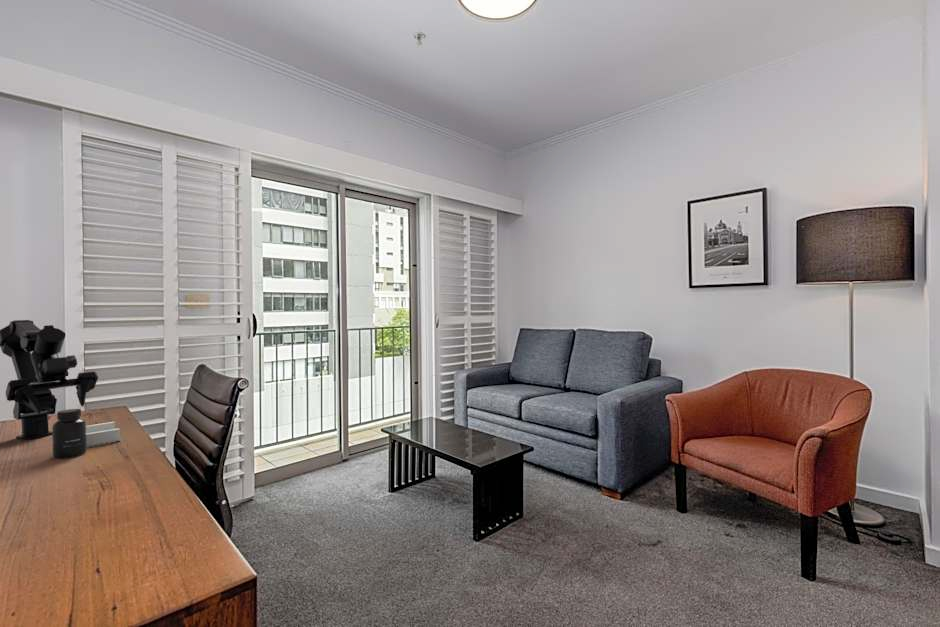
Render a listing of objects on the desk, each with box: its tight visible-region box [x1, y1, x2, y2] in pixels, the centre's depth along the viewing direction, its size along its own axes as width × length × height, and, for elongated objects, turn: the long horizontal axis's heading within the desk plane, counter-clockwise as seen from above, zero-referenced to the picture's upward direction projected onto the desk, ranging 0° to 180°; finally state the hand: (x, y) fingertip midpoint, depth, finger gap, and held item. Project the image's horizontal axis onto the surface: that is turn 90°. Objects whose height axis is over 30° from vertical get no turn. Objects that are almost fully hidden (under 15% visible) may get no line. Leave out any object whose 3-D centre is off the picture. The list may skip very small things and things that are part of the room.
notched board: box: [86, 421, 121, 448], centre depth 135 cm, size 10×12×4 cm
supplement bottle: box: [51, 408, 87, 460], centre depth 122 cm, size 7×7×12 cm
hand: (61, 408), depth 125 cm, fingers open, 9 cm apart
